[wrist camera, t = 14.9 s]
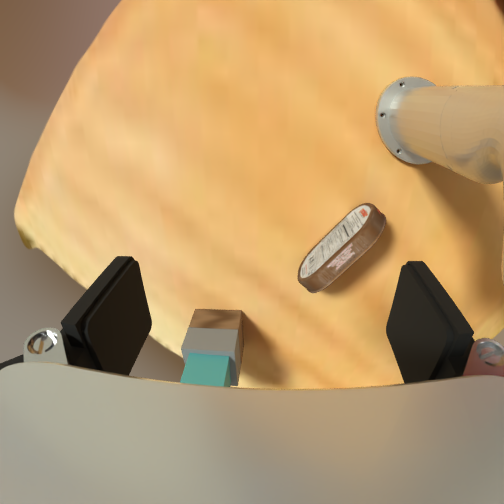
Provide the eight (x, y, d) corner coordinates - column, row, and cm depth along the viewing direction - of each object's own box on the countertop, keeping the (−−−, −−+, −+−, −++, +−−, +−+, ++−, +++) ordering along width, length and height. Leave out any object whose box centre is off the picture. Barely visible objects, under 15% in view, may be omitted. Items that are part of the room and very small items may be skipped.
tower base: (241, 309, 52) (238, 328, 48) (243, 344, 56) (241, 363, 51) (195, 308, 53) (188, 326, 49) (201, 342, 57) (196, 361, 52)
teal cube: (229, 356, 44) (223, 387, 39) (230, 381, 47) (226, 411, 41) (189, 352, 44) (179, 382, 39) (194, 378, 47) (186, 406, 42)
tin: (306, 274, 48) (311, 306, 41) (292, 262, 48) (294, 293, 40) (377, 206, 43) (396, 228, 35) (363, 192, 42) (381, 211, 34)
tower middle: (238, 329, 48) (234, 351, 43) (240, 364, 51) (237, 385, 47) (188, 327, 49) (181, 348, 44) (195, 361, 52) (189, 382, 48)
